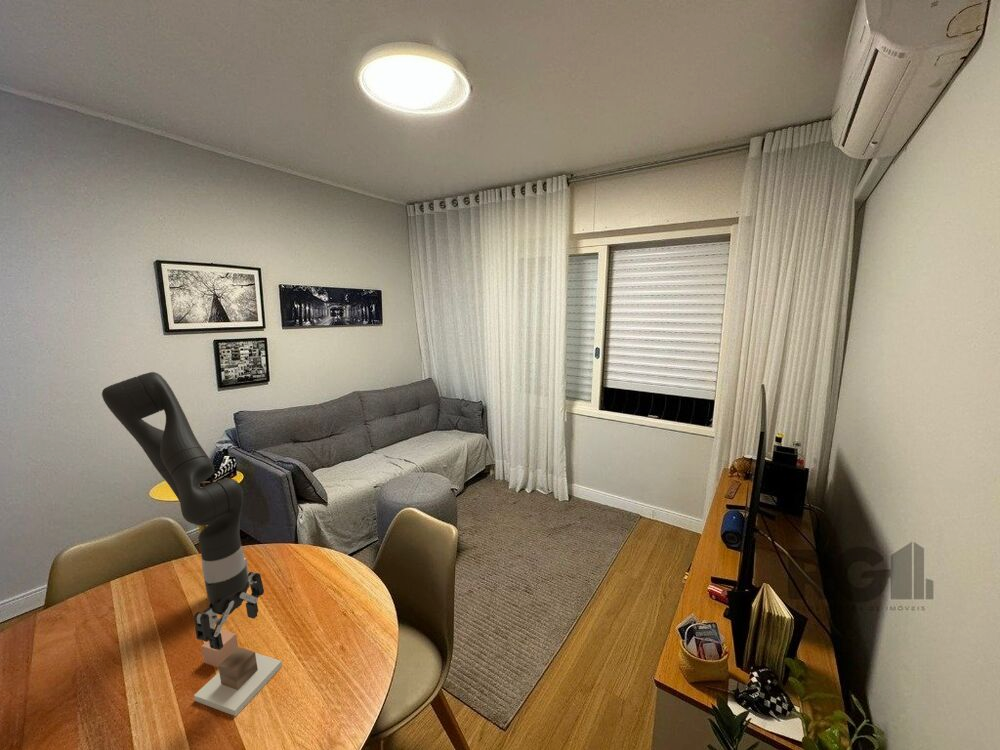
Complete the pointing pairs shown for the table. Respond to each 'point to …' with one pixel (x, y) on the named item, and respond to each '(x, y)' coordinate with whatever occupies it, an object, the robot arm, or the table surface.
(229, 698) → the base plate
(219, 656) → the pink cube
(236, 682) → the walnut brick
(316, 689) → the table surface
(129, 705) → the table surface
